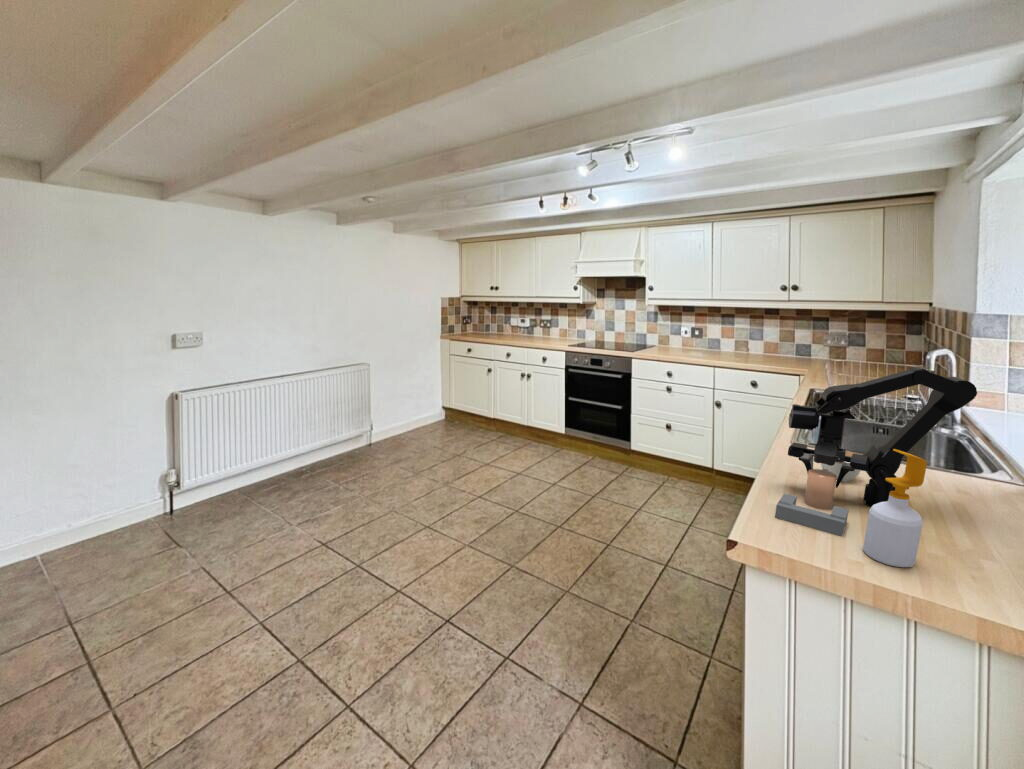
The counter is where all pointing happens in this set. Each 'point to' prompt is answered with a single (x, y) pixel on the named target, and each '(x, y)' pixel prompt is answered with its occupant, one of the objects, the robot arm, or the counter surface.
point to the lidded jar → (837, 468)
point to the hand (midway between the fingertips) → (823, 484)
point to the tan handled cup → (820, 489)
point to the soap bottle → (896, 520)
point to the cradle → (811, 516)
